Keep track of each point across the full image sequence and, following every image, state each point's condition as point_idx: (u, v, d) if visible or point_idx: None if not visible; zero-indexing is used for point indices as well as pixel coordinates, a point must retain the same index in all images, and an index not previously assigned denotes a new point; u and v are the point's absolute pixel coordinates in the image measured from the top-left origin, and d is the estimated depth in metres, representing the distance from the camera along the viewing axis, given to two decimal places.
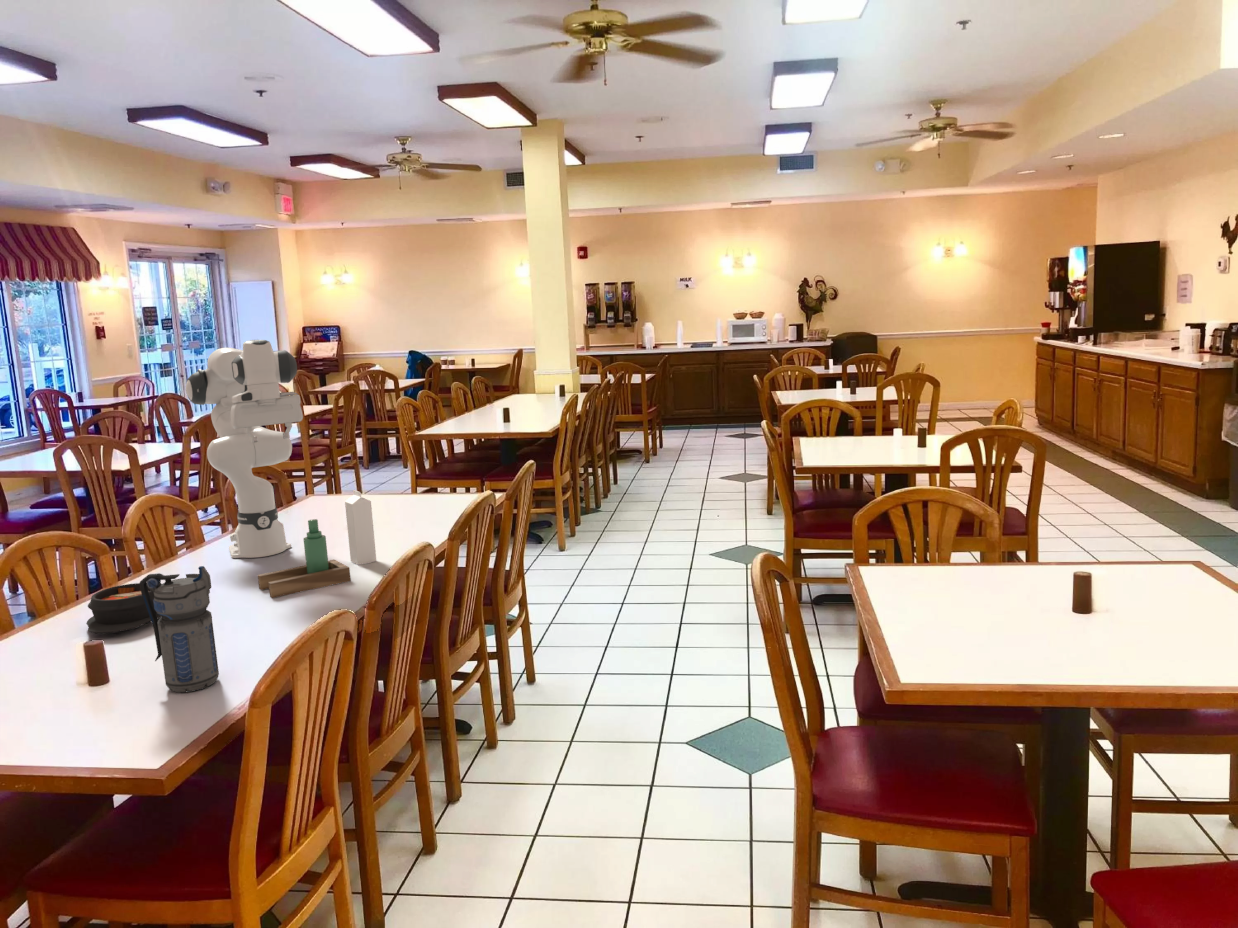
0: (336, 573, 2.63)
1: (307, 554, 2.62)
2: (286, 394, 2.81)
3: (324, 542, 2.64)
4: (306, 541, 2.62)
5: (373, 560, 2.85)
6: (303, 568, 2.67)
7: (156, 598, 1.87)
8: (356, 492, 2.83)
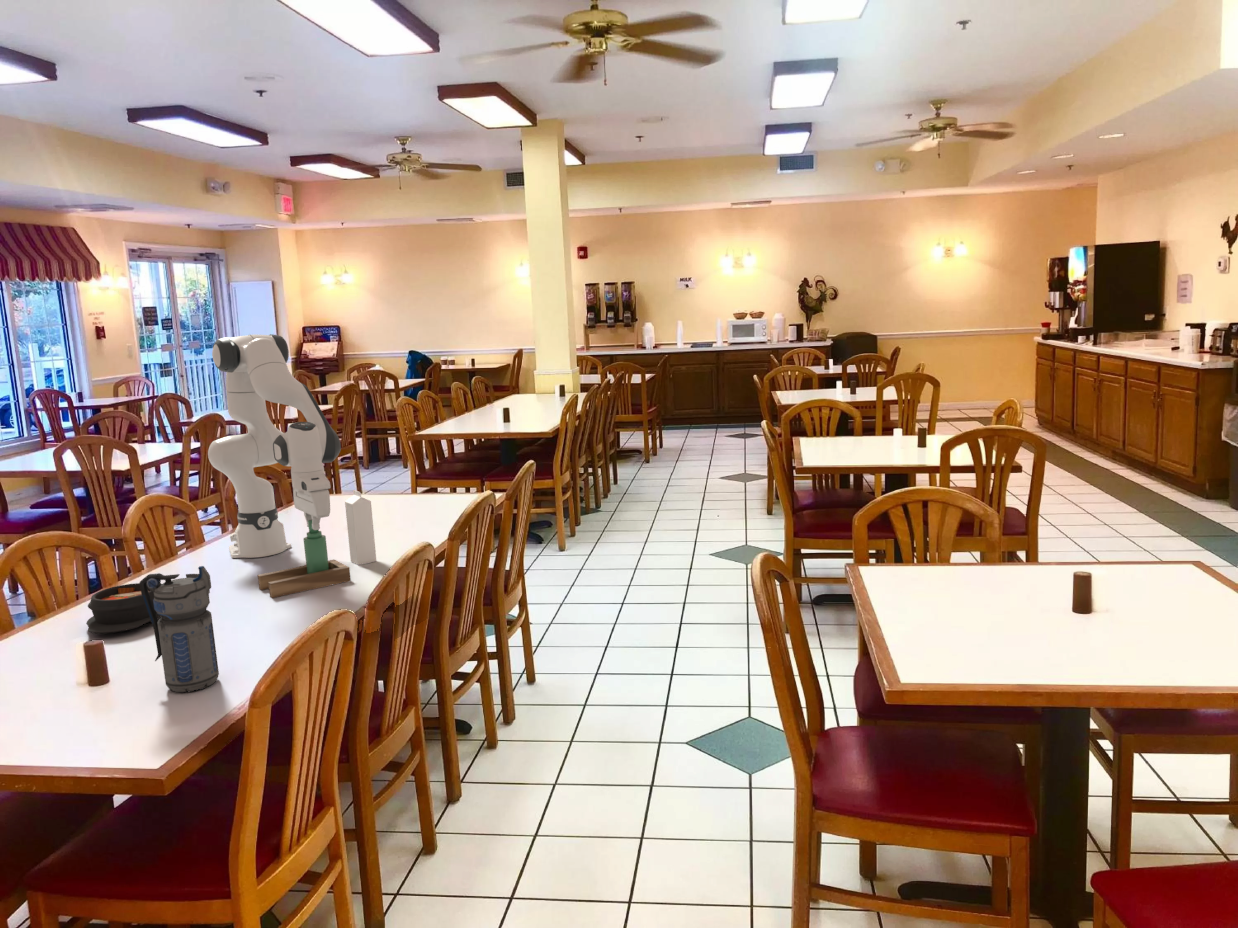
0: (336, 573, 2.63)
1: (307, 554, 2.62)
2: None
3: (324, 542, 2.64)
4: (306, 541, 2.62)
5: (373, 560, 2.85)
6: (303, 568, 2.67)
7: (156, 598, 1.87)
8: (356, 492, 2.83)
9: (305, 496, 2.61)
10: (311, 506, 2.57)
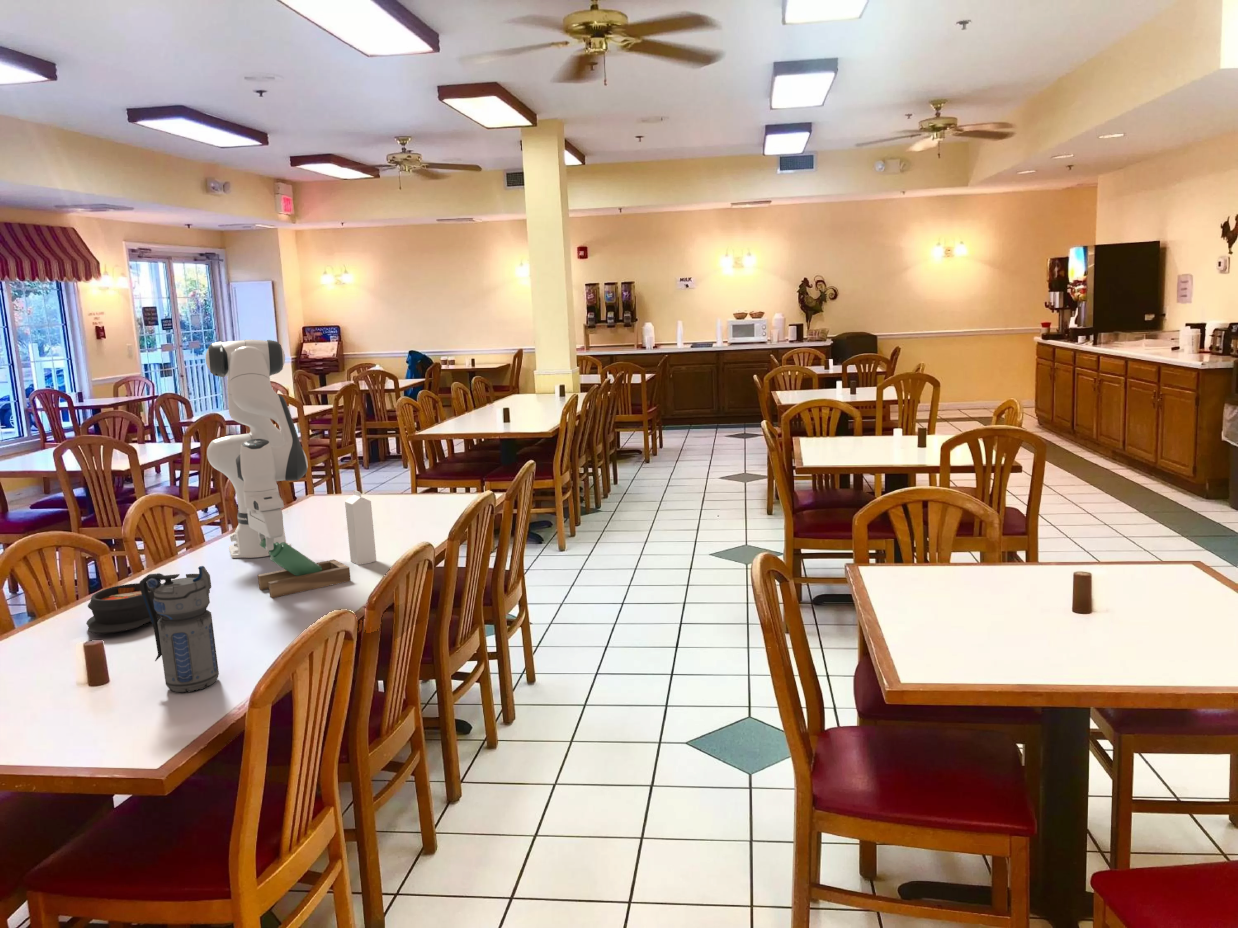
0: (336, 573, 2.63)
1: (284, 568, 2.59)
2: None
3: (288, 549, 2.58)
4: (274, 561, 2.57)
5: (373, 560, 2.85)
6: None
7: (156, 598, 1.87)
8: (356, 492, 2.83)
9: (258, 515, 2.54)
10: (264, 526, 2.49)
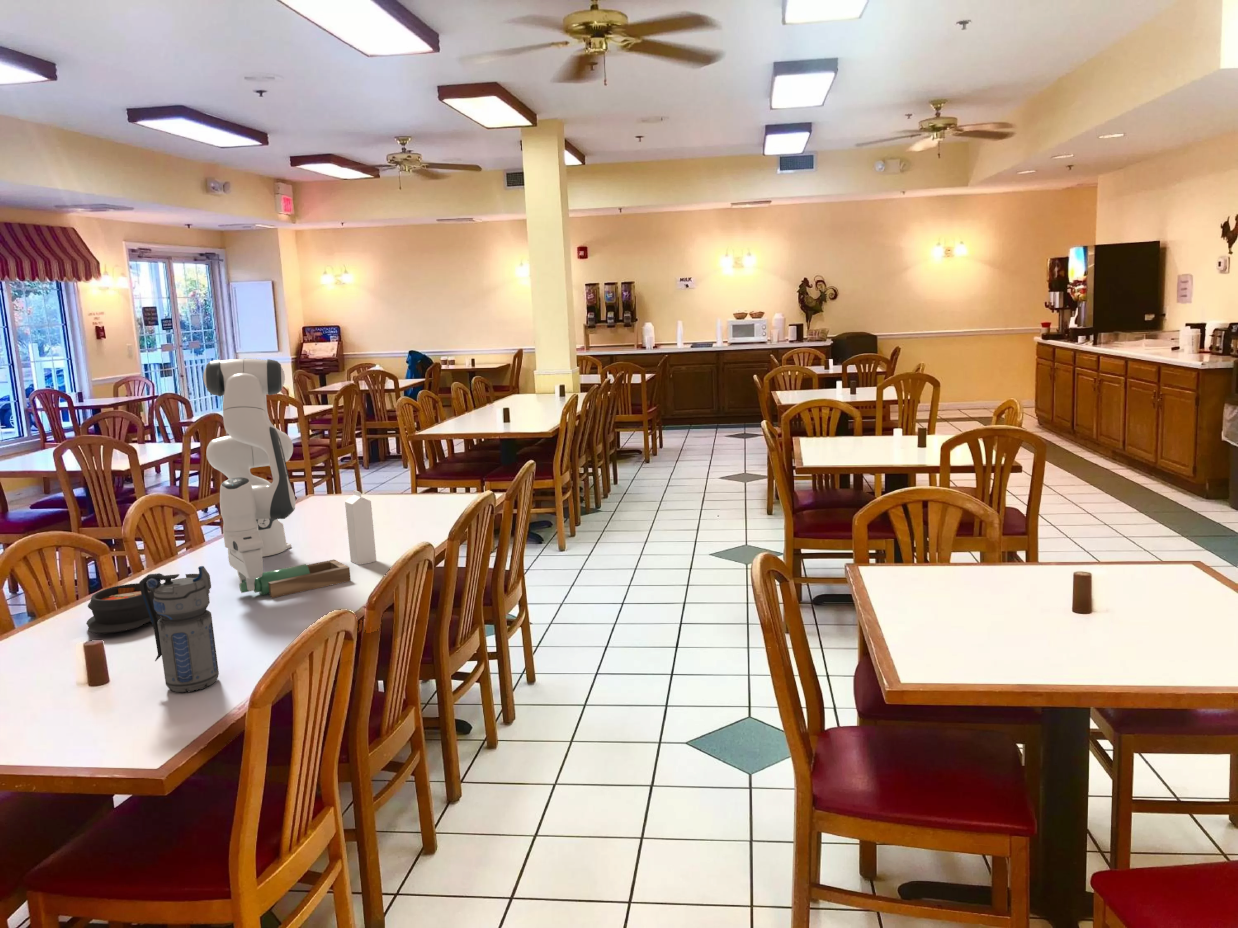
0: (336, 573, 2.63)
1: None
2: None
3: (266, 578, 2.55)
4: (263, 594, 2.56)
5: (373, 560, 2.85)
6: None
7: (156, 598, 1.87)
8: (356, 492, 2.83)
9: (238, 555, 2.52)
10: (244, 566, 2.47)
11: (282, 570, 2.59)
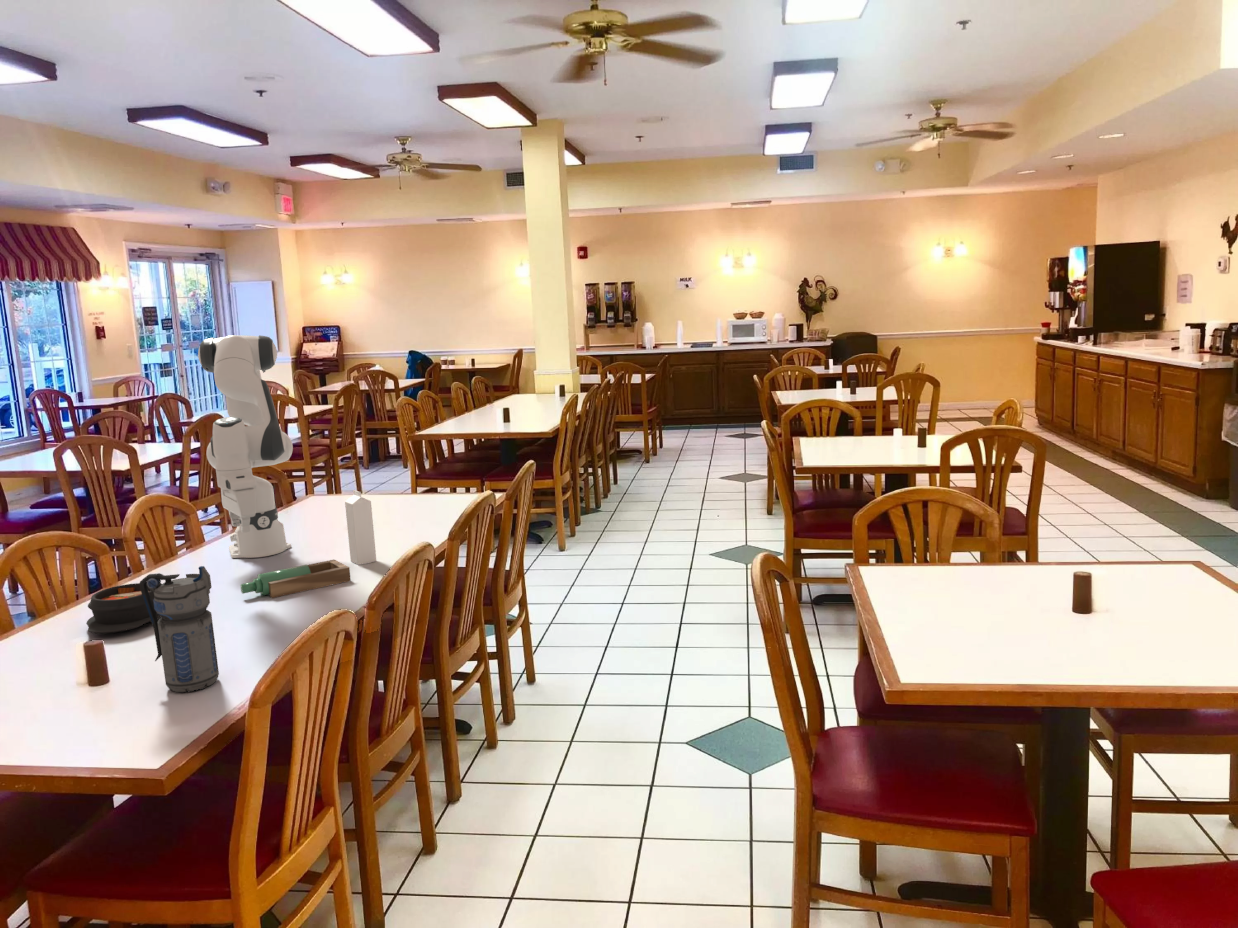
0: (336, 573, 2.63)
1: None
2: None
3: None
4: (263, 595, 2.56)
5: (373, 560, 2.85)
6: None
7: (156, 598, 1.87)
8: (356, 492, 2.83)
9: (231, 495, 2.49)
10: (236, 505, 2.45)
11: (284, 573, 2.57)
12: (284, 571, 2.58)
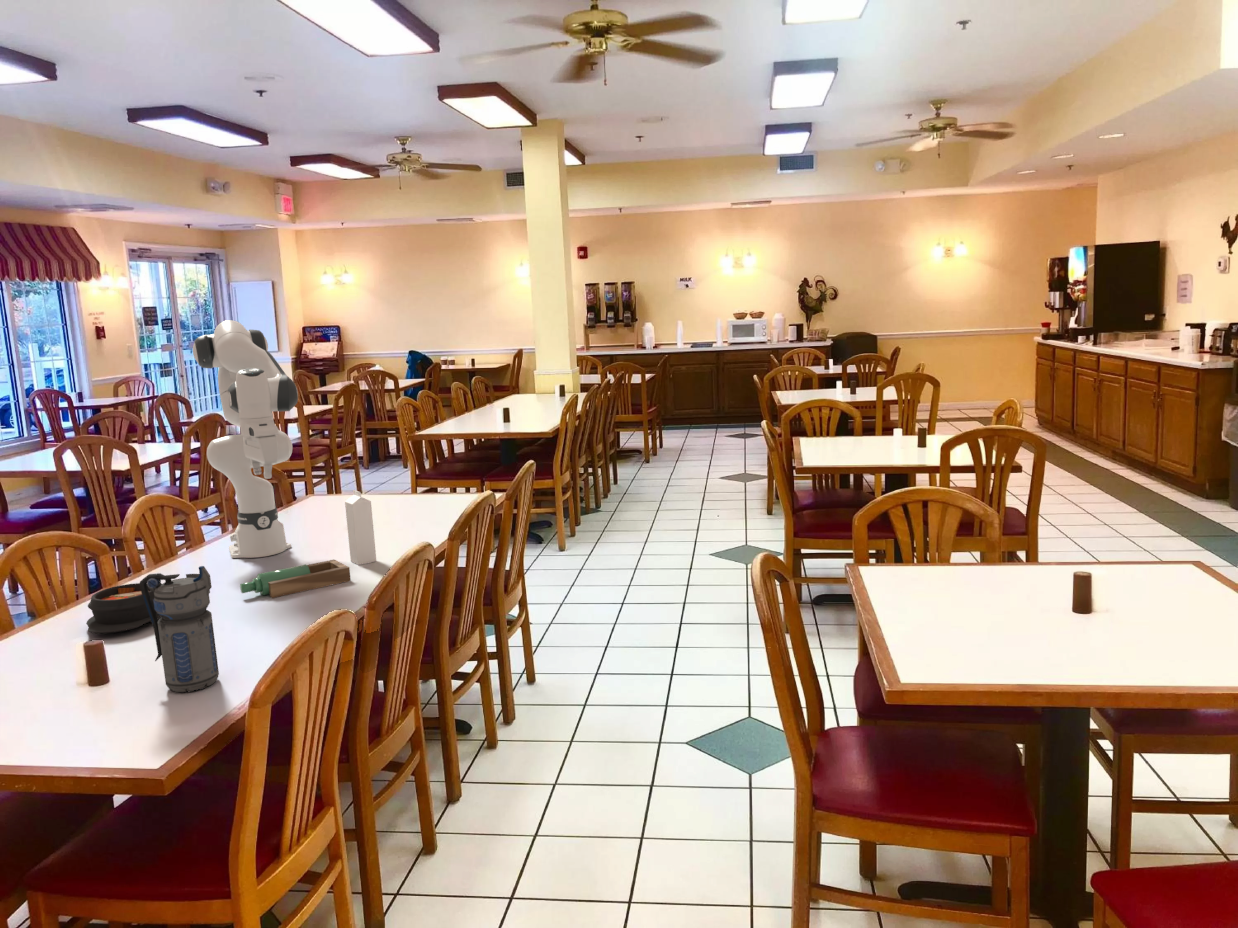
0: (336, 573, 2.63)
1: None
2: None
3: (267, 580, 2.54)
4: None
5: (373, 560, 2.85)
6: None
7: (156, 598, 1.87)
8: (356, 492, 2.83)
9: (254, 443, 2.59)
10: (259, 452, 2.54)
11: (283, 572, 2.58)
12: (283, 570, 2.59)
